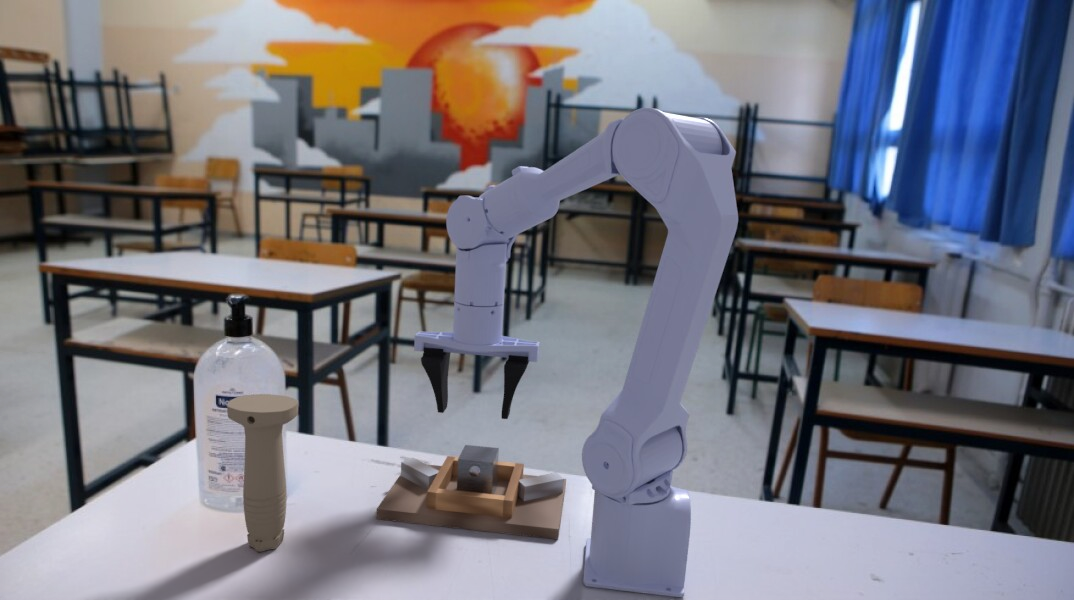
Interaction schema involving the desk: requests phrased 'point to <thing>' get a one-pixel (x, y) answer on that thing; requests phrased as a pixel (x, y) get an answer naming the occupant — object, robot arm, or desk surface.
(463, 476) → the block
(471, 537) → the desk surface
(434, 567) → the desk surface
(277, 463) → the handle
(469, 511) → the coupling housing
